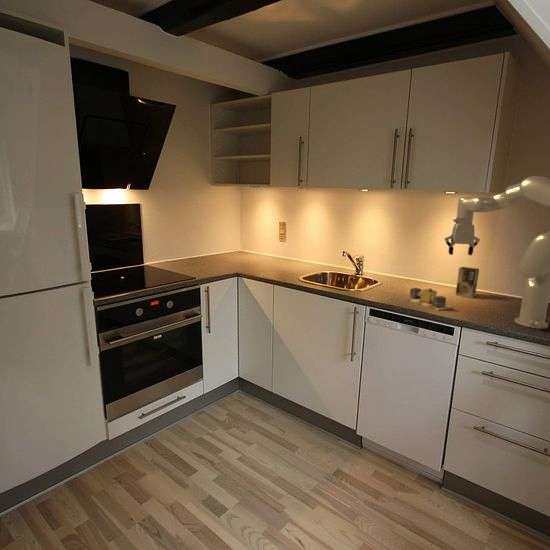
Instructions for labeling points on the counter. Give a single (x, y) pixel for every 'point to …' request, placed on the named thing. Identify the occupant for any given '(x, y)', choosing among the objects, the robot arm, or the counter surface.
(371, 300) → the counter surface
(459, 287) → the coffee box
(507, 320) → the counter surface
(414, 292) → the shaft bench
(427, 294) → the coupling block
